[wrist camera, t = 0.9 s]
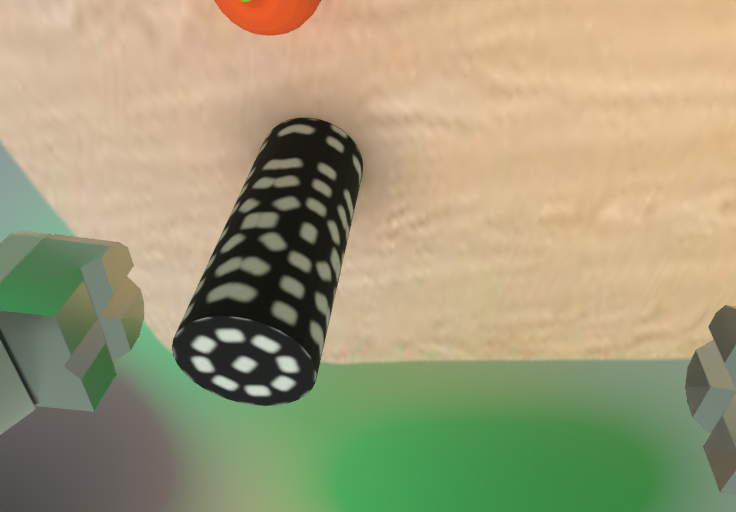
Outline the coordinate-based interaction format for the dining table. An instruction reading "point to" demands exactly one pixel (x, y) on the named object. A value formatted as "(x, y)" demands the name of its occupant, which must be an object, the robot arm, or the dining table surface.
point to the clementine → (268, 14)
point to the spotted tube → (274, 270)
